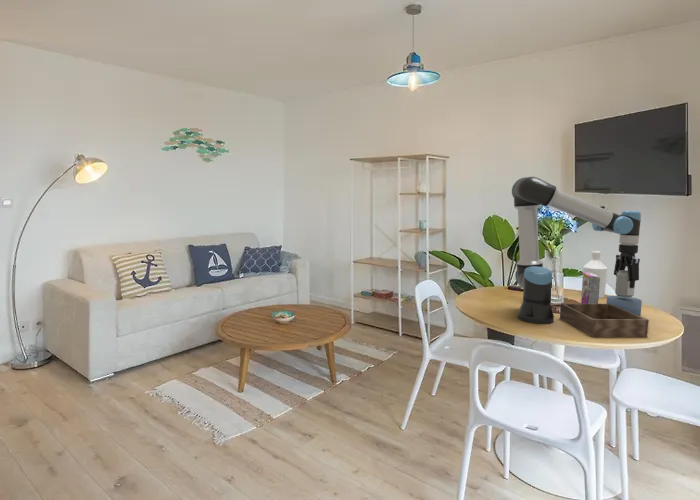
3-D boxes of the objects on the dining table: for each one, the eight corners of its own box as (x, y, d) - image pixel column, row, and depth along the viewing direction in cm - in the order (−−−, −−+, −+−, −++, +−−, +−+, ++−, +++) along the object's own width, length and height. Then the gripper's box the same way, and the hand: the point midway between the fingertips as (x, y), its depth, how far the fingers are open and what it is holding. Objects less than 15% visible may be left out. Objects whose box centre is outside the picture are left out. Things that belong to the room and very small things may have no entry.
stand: (617, 319, 200) (618, 302, 199) (599, 311, 214) (600, 295, 213) (647, 319, 201) (649, 302, 200) (627, 311, 214) (629, 295, 213)
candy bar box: (580, 303, 231) (582, 272, 229) (590, 303, 230) (592, 272, 228) (587, 308, 220) (589, 276, 218) (598, 308, 219) (600, 276, 217)
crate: (591, 336, 176) (593, 320, 175) (559, 318, 202) (560, 303, 201) (647, 336, 176) (648, 320, 176) (608, 318, 203) (609, 303, 202)
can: (612, 295, 206) (615, 270, 205) (617, 293, 212) (619, 268, 210) (631, 298, 201) (633, 272, 199) (635, 296, 206) (637, 270, 205)
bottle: (586, 292, 256) (589, 249, 253) (608, 295, 248) (612, 251, 244) (577, 295, 249) (580, 251, 246) (600, 299, 240) (603, 253, 237)
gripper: (651, 246, 193) (647, 297, 196) (622, 241, 213) (619, 288, 216) (635, 246, 193) (630, 297, 196) (607, 241, 213) (603, 288, 216)
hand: (624, 292), depth 206 cm, fingers closed on can, 7 cm apart
